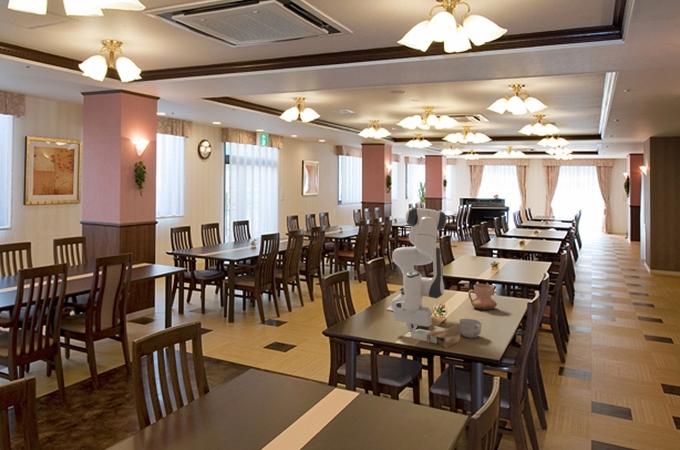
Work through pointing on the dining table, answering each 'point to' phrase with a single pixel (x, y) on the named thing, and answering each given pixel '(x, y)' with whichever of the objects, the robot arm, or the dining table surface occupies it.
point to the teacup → (470, 327)
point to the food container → (421, 327)
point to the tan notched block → (446, 335)
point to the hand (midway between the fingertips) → (412, 332)
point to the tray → (424, 336)
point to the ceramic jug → (483, 297)
